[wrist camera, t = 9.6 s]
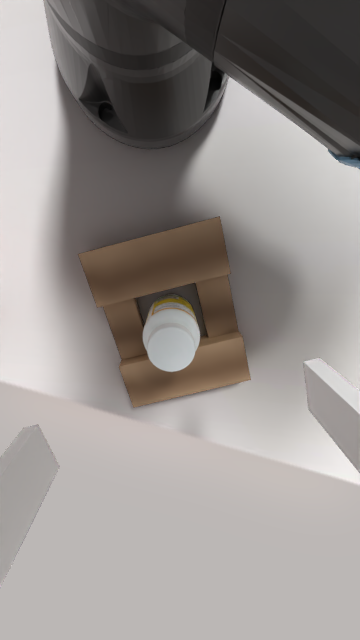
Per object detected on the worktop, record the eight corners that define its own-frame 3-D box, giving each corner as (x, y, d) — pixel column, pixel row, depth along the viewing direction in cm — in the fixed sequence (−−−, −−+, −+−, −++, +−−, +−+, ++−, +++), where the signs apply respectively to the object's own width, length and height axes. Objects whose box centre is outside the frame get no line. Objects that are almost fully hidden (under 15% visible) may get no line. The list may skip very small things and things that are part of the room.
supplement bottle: (167, 284, 29) (165, 304, 20) (203, 312, 30) (218, 344, 21) (139, 320, 30) (125, 355, 21) (175, 346, 31) (177, 390, 22)
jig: (87, 252, 27) (77, 254, 25) (214, 218, 27) (219, 216, 24) (136, 393, 33) (133, 407, 30) (243, 367, 32) (250, 379, 29)
